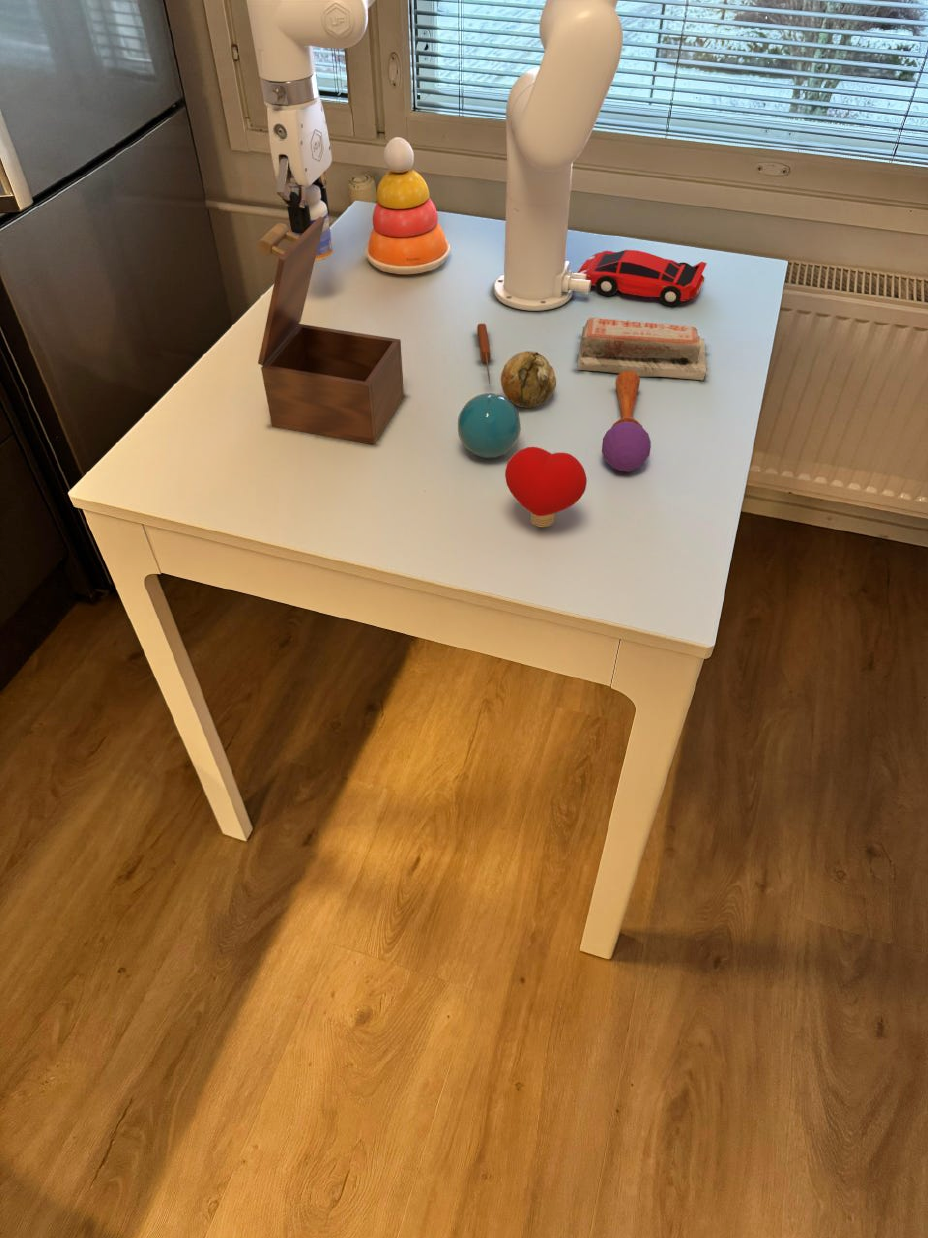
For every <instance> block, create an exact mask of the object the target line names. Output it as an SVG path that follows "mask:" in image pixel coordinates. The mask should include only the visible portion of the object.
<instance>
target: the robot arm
mask: <svg viewBox="0 0 928 1238" xmlns="http://www.w3.org/2000/svg"><path fill="white" fill-rule="evenodd" d="M245 1H246V6H247V12H248V18H249V25H250V30H251V36H252V40H253V46H254V47H253V48H254V52H255V59H256V65H257V70H258V76H259V81H260V82H259V83H260V87H261V93H262V98H263V104H264V106H266V111H267V112H266V116H267V129H268V140H269V149H270V157H271V162H272V167H273V173H274V176H275V177H274V178H275V179H276V182H277V183H276V191H275V192H276V194H277V195H278V196H279V197H280V198H281V199H282V200H283V202H284V205H285V207H286V209H287V215H288V220H289V226H290V231H291V233H292V234H294V233H301V234H303V233H304V232H305V231H306V230H307V229H308V228H309V227H310V226H311V225H312V224H311V217H310V211H309V205H306V191H305V187H308V186H310V185H311V184H313V185H316V186H318V187H319V188H320V193H321V199H320V200H321V201H323V202H324V203H325V204H326V206H327V212H328V216H329V215H330V209H329V202H328V195H327V188H326V187H327V178H326V171H327V170H328V169H329V168H330V166H332V163H333V155H332V149H331V141H330V137H329V130H328V126H327V120H326V116H325V111H324V106H323V103H322V99H321V96H320V90H319V83H318V76H317V75H318V74H317V68H316V67H317V66H316V60H315V52H314V47H315V48H323V49H331V50H345V49H349V48H351V47H354V46H355V45H357V44H358V43H359V42H360V41H361V40H362V38H363V37H364V36H365V33H366V31H367V28H368V23H369V8H370V7H371V6H372V5H373V4H374V3H375V1H376V0H245ZM618 2H619V0H546V1H545V2H544V3H545V4H544V6H543V9H542V11H541V15H540V19H539V25H538V26H539V28H538V32H539V33H538V34H539V38H540V43H541V45H542V47H543V50H544V53H543V56H542V59H541V62H540V65H539V67H538V66H537V67H534V68H530V69H529V70H527V71H525V72H523V73H522V74H521V75H520V76H518V78H517V80H516V81H515V82H514V84H513V85H512V87H511V89H510V91H509V94H508V97H507V101H506V108H505V133H506V135H505V137H506V139H505V140H506V191H505V225H504V258H503V259H504V260H503V262H504V263H503V274H501V275H500V276H498V278H497V279H496V280H495V282H493V283H494V284H493V294H494V296H495V298H496V299H497V300H498V301H499V302H500V303H502V304H503V305H505V306H508V307H510V308H512V309H516V310H522V311H529V312H536V311H538V312H540V311H548V310H553V309H555V308H559V307H561V306H563V305H565V304H567V302H569V301H570V299H572V297H573V294H574V293H573V292H577V293H583V294H590V292H591V287H592V285H591V280H586V274H581V273H578V272H573V270H570V263H571V262H570V261H568V260H566V258H567V257H566V255H567V245H568V244H567V242H568V231H569V230H568V229H569V217H570V206H571V205H570V203H571V195H572V181H573V163H574V162H575V161H576V159H578V158H579V156H580V155H581V154H582V152H583V150H584V149H585V147H586V145H587V143H588V142H589V139H590V137H591V135H592V132H593V130H594V127H595V125H596V123H597V120H598V118H599V115H600V113H601V110H602V108H603V105H604V103H605V100H606V98H607V95H608V94H609V91H610V89H611V86H612V84H613V81H614V78H615V75H616V73H617V71H618V68H619V65H620V62H621V61H620V60H621V56H622V53H623V45H624V32H623V26H622V23H621V19H620V17H619V15H618V12H617V11H616V8H617V5H618ZM291 179H294V180H295V181H291ZM292 188H298V190H299V196H298V195H297V194H296V193H295V192H293V190H292Z"/></svg>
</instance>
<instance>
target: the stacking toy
mask: <svg viewBox="0 0 928 1238" xmlns="http://www.w3.org/2000/svg"><path fill="white" fill-rule="evenodd" d="M414 161H415V155H414V150H413V148H412V146H411V144H410V143H409V142H408V141H407V140H406V139H405V138H403V137H398V136H396V137H393V138H392V139H390V140H389V141H388V142H387V144H386V145H385V147H384V151H383V162H384V166H385V167H386V169H388V170H389V171H388V172H387V173H385V174H384V175H383V176H382V178H381V180H380V181H379V183H378V186H377V189H376V204H375V206H374V209H373V213H372V226H373V228H372V230H371V233H370V236H369V241H368V244H367V246H366V248H365V256H366V259H367V260H368V262H369V263H370V264H371V265H372V266H373V267H375V268H376V269H378V270H379V271H382V272H384V273H389V274H396V275H415V274H416V275H417V274H421V273H426V272H429V271H433V270H436V269H437V268H439V267H440V266H442V265H443V264H444V263H445V262H446V261H447V260H448V258H449V256H450V255H451V245H450V243H449V241H448V240H447V239H446V235H445V232H444V230H443V227H442V226H441V224H440V223H439V216H438V211H437V208H436V206H435V204H434V202H433V200H432V199H431V198H430V190H429V187H428V184H427V183H426V181H425V179H424V178H423V176H422V175H420V173H418V172H417V171H415V170H414V169H411V168H412V167H413V164H414Z"/></svg>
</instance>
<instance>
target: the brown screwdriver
mask: <svg viewBox="0 0 928 1238" xmlns="http://www.w3.org/2000/svg"><path fill="white" fill-rule="evenodd" d="M476 330H477V331H476V332H477V338H478V346H479V353H480V358H481V359H480V360H481V362H482V364H484V365H485V364H486V371H487V376H488V382H489V385H491V375H490V368H489V363H490V362H491V356H492V355H491V347H490V342H489V341H490V340H489V336H488V328H487V324H485V323H479V324H477V327H476Z"/></svg>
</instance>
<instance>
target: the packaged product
mask: <svg viewBox="0 0 928 1238" xmlns="http://www.w3.org/2000/svg"><path fill="white" fill-rule="evenodd" d="M705 345H706V344H705V338H701V336H700V334H699V332H698V329H697V327H696V326H691V325H683V324H669V323H661V322H660V323H658V322H646V321H637V320H626V319H616V318H606V317H605V318H604V317H590V318H588V319H587V320H586V323H585V324H584V325H583V327H582V330H581V339H580V345H579V354H578V360H577V368H578V371H593V372H603V373H611V374H620V373H621V372H624V371H633V372H635V373H636V374H637V375H638V376H639V378H641V377H646V378H647V377H660V378H661V377H663V378H674V379H682V380H683V379H685V380H696V381H704V379H705V376H706V373H707V366H706V365H707V364H706V363H707V362H706V346H705Z"/></svg>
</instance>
